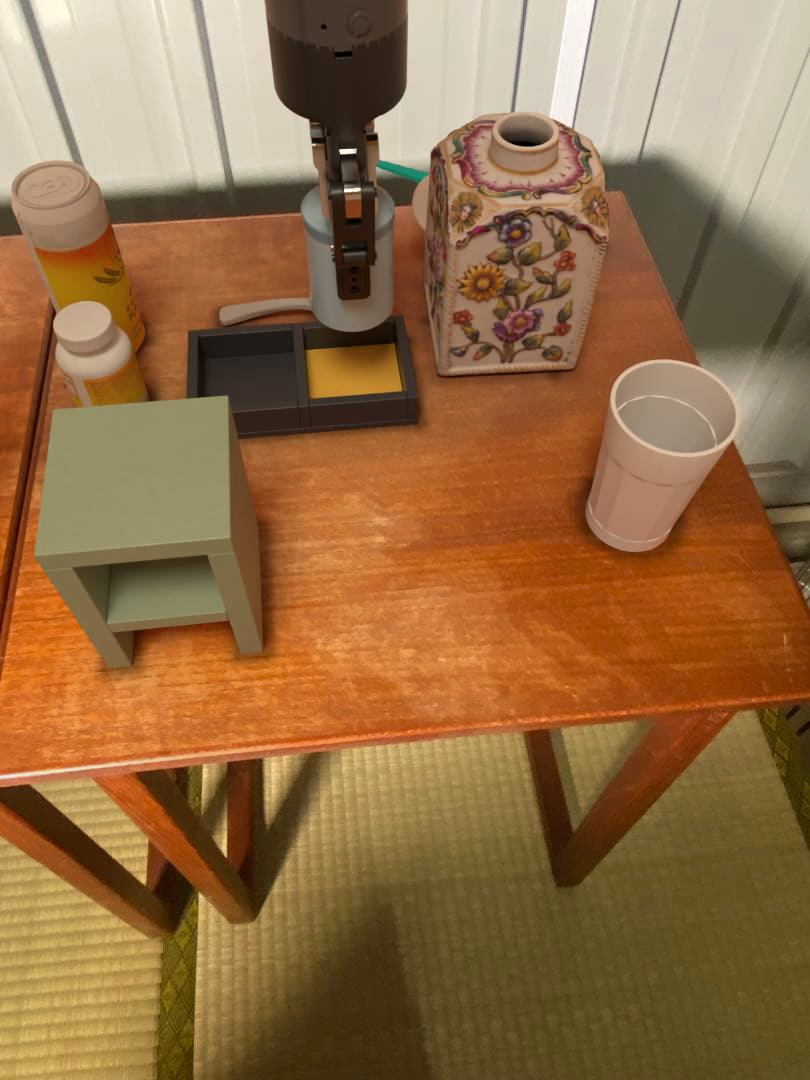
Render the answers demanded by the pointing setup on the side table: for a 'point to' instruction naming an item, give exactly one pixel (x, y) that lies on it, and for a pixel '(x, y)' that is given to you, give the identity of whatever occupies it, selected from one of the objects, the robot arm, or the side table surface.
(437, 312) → the decorative jar
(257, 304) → the spoon
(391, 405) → the tray
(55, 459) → the shelf
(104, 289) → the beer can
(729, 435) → the cup
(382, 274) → the blue grey cylinder
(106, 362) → the supplement bottle
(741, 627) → the side table surface
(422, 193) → the beige rounded piece
